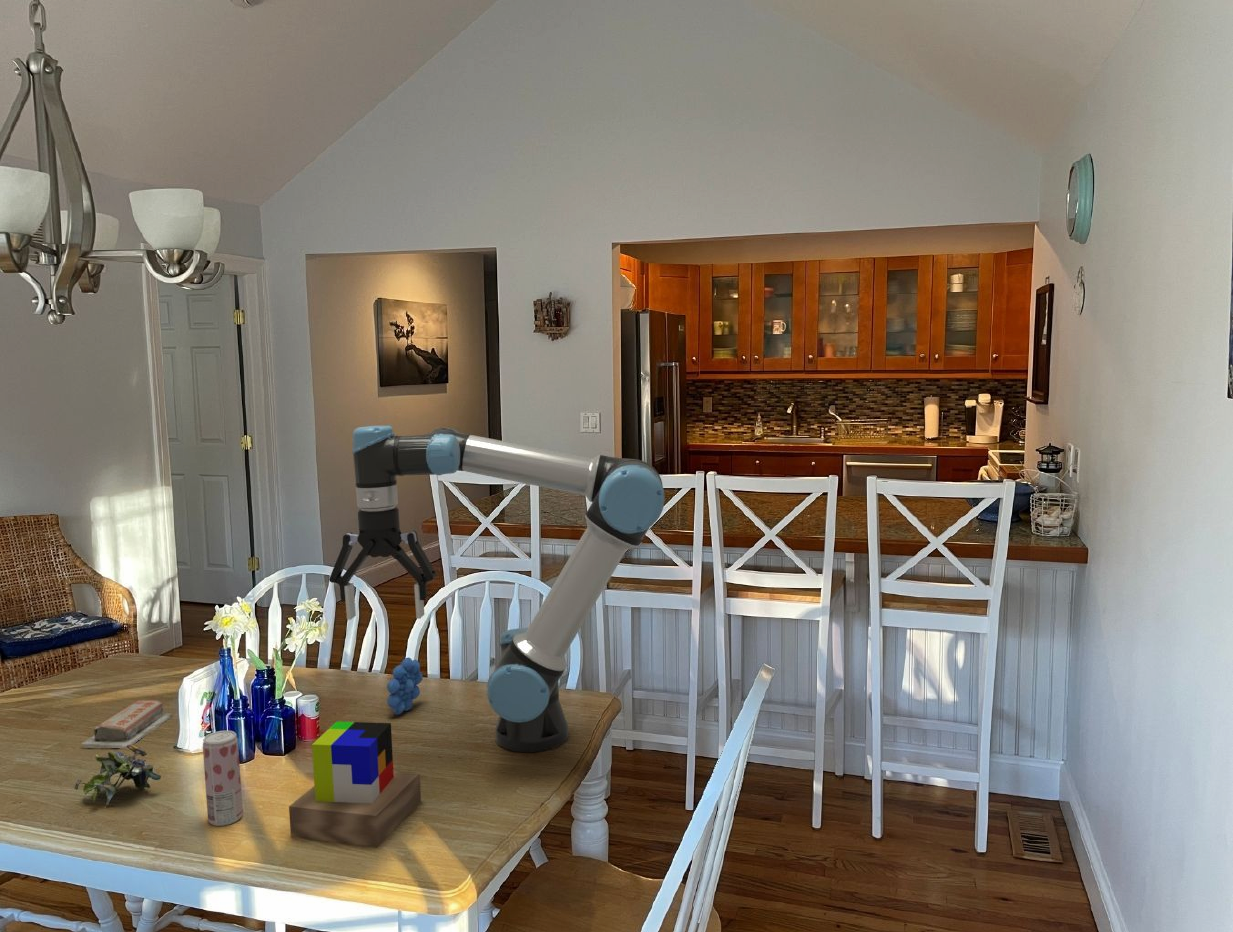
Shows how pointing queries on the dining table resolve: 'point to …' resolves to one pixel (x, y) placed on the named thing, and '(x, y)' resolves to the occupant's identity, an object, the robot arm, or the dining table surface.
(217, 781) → the beverage can
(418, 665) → the grapes
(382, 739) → the puzzle toy
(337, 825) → the walnut block
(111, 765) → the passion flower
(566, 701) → the dining table surface
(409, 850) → the dining table surface
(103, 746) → the packaged product
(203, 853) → the dining table surface
